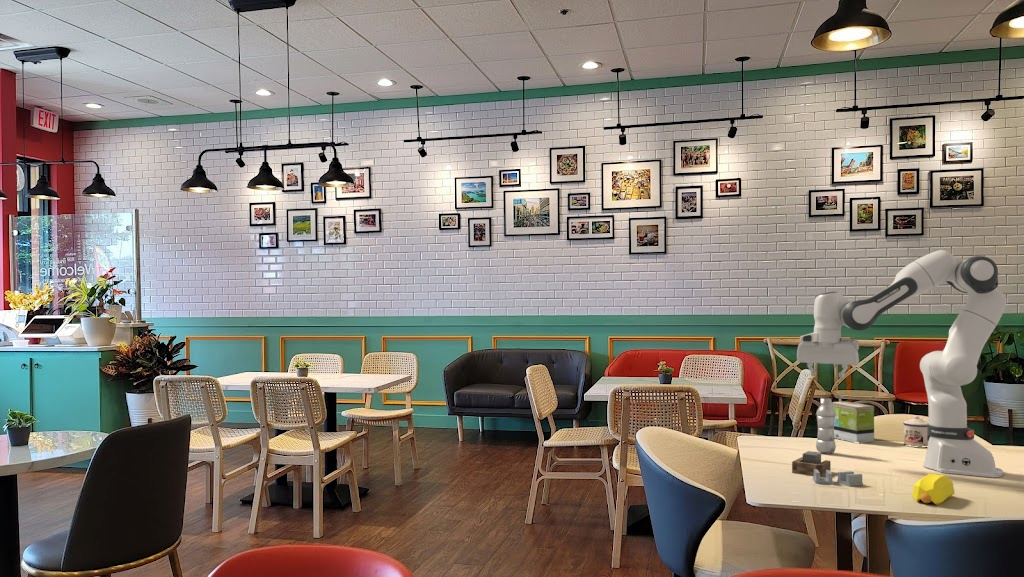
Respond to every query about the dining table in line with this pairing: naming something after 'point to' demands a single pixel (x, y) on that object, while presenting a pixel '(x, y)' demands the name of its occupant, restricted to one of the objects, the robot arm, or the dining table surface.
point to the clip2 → (822, 480)
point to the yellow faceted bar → (933, 489)
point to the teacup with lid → (915, 432)
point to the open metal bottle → (825, 427)
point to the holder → (810, 467)
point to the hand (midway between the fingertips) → (827, 376)
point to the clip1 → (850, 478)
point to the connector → (812, 457)
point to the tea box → (853, 421)
